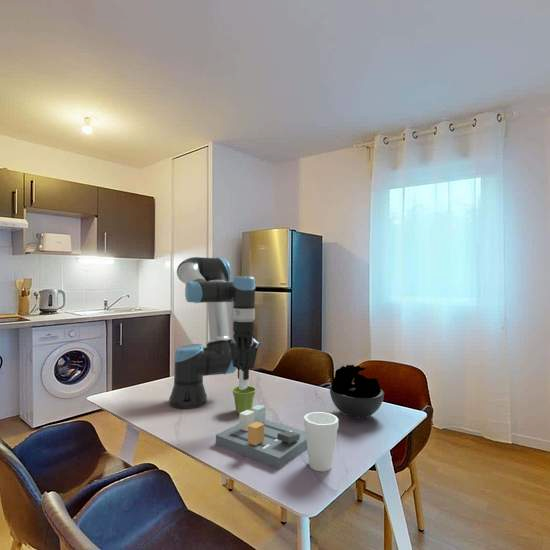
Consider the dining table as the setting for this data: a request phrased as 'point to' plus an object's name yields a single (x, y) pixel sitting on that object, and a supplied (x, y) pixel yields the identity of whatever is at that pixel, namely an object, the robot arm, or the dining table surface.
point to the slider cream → (246, 419)
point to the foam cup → (320, 439)
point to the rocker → (288, 436)
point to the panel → (264, 444)
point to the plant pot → (243, 398)
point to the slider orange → (256, 433)
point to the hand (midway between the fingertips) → (243, 388)
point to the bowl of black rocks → (355, 392)
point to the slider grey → (259, 413)
